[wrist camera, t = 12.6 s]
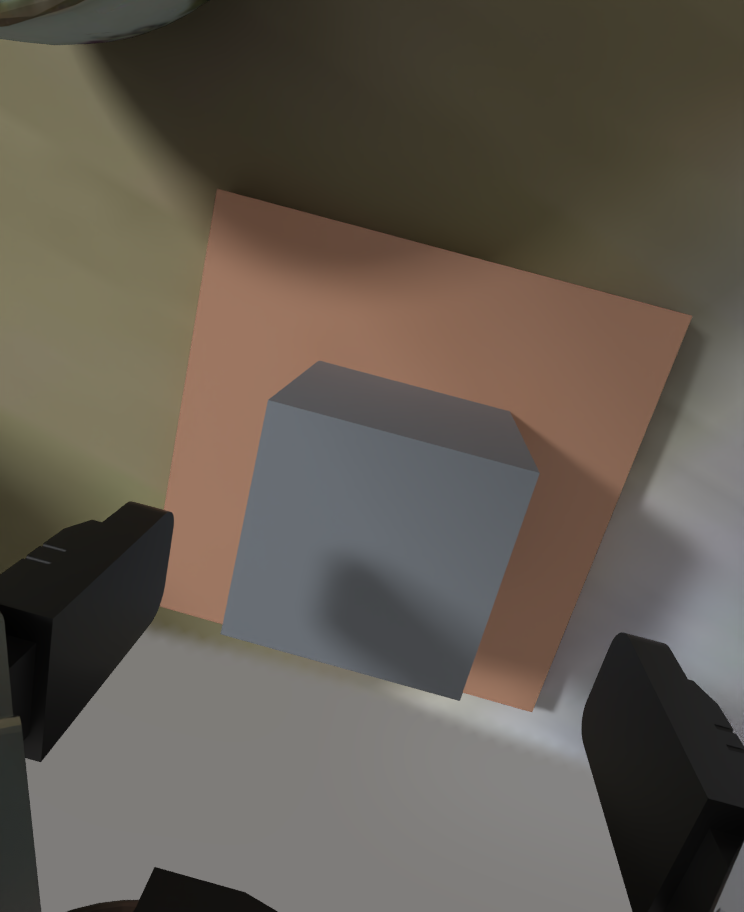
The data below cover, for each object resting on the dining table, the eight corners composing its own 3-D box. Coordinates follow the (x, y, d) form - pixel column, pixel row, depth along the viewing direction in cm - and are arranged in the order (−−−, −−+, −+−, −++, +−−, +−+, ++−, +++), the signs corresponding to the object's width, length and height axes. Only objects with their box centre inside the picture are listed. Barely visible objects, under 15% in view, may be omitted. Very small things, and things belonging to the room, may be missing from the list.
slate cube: (318, 360, 19) (267, 400, 14) (509, 411, 19) (539, 472, 13) (279, 534, 21) (220, 634, 15) (454, 582, 21) (459, 701, 15)
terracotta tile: (228, 192, 19) (216, 188, 18) (680, 313, 19) (692, 315, 18) (160, 589, 23) (148, 603, 22) (528, 693, 23) (531, 712, 22)
